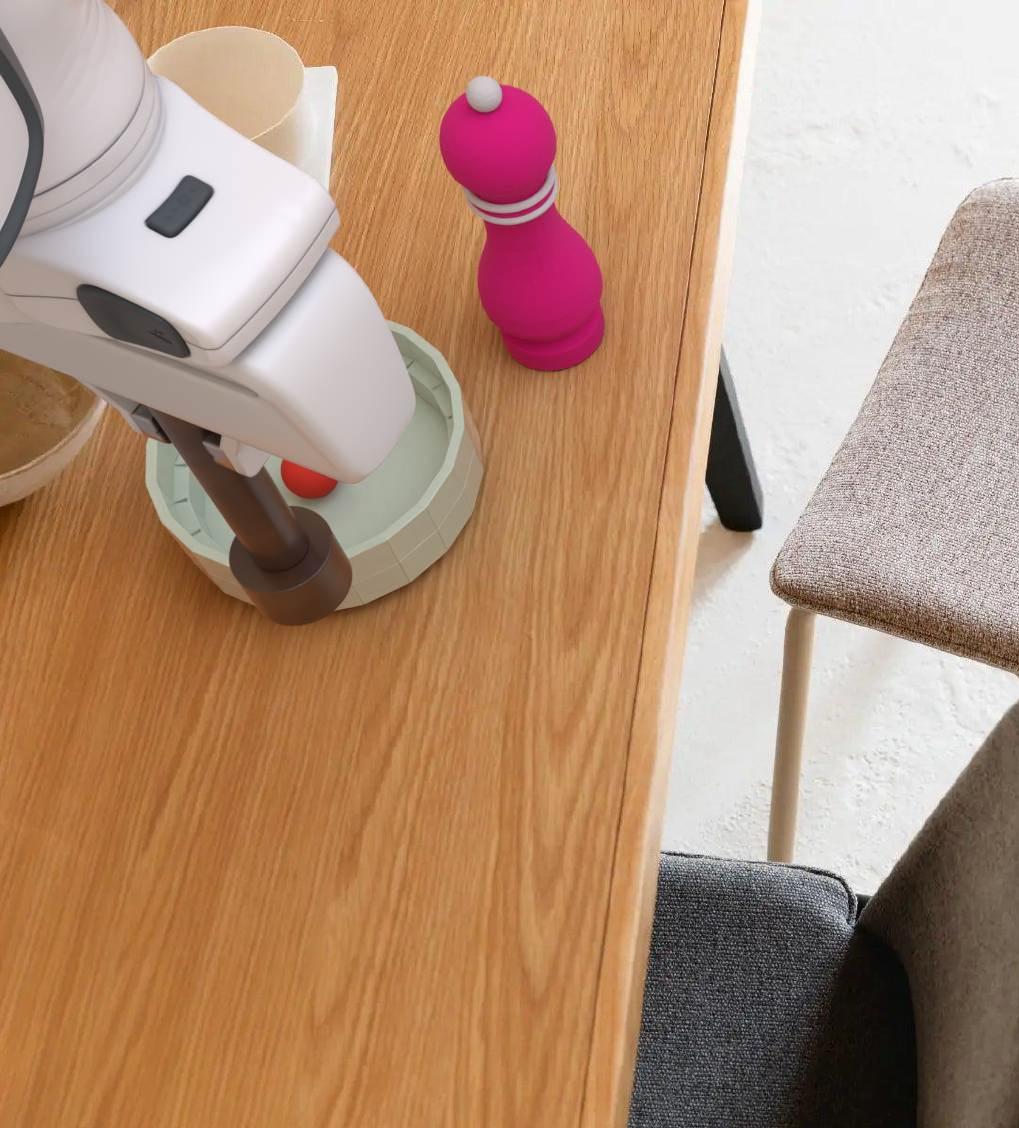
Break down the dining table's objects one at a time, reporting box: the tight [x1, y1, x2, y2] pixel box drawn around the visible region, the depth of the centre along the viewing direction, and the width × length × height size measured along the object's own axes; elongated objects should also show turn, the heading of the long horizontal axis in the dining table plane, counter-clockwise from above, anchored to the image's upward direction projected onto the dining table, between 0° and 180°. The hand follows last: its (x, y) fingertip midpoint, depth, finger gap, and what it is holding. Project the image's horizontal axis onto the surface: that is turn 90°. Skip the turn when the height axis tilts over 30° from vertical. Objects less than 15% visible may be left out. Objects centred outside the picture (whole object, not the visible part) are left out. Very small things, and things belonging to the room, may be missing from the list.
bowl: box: [144, 318, 485, 612], centre depth 85 cm, size 17×17×6 cm
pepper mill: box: [438, 75, 606, 372], centre depth 84 cm, size 7×7×20 cm
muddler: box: [147, 406, 352, 627], centre depth 60 cm, size 4×4×16 cm
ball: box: [281, 459, 338, 499], centre depth 85 cm, size 3×3×3 cm
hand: (208, 442), depth 57 cm, fingers closed on muddler, 2 cm apart
